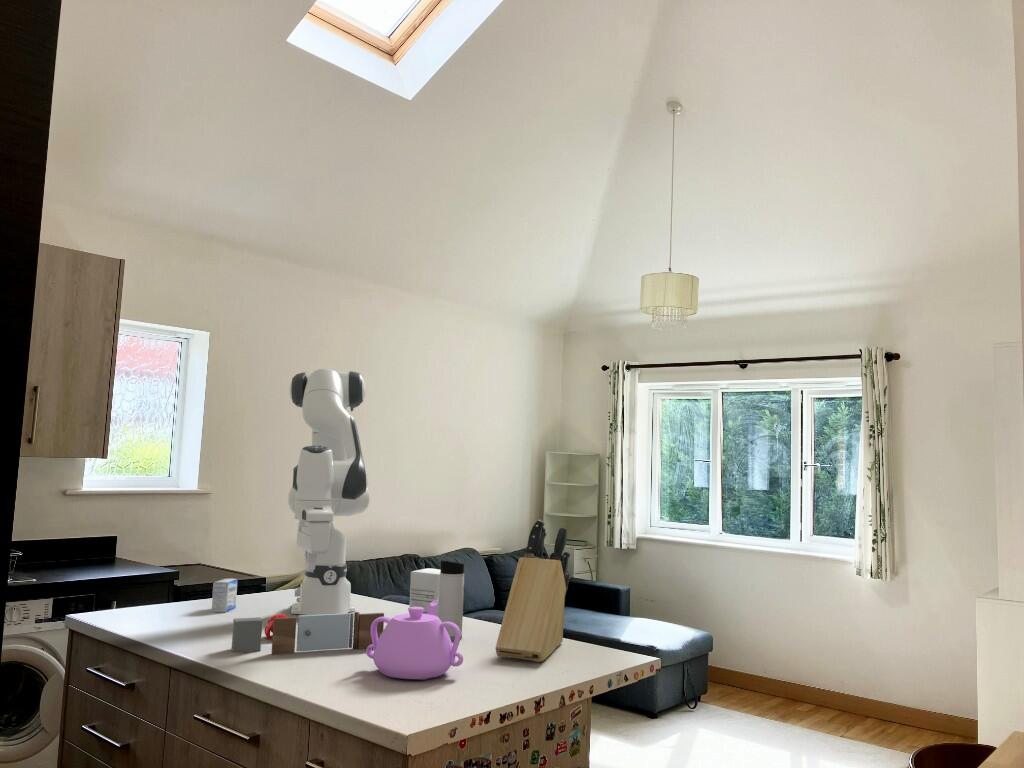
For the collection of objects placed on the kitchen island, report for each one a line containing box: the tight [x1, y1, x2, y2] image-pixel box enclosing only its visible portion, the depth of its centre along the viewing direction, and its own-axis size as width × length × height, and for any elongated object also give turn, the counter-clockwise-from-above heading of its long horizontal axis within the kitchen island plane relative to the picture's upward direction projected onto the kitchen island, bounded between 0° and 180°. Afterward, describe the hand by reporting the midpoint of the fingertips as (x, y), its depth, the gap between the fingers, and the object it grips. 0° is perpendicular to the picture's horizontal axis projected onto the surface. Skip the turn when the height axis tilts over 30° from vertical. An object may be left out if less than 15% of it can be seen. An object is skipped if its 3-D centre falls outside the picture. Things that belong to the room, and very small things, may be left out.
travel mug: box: [438, 559, 465, 642], centre depth 207 cm, size 6×7×20 cm
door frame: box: [271, 611, 385, 656], centre depth 189 cm, size 1×26×8 cm, turn 115°
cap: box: [264, 613, 288, 640], centre depth 201 cm, size 8×6×6 cm
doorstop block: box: [231, 616, 263, 654], centre depth 187 cm, size 4×6×7 cm, turn 115°
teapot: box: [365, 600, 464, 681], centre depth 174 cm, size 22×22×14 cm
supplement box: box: [408, 567, 441, 617], centre depth 223 cm, size 9×9×15 cm
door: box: [295, 612, 354, 653], centre depth 189 cm, size 13×2×8 cm, turn 115°
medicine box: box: [211, 578, 238, 614], centre depth 235 cm, size 8×4×9 cm, turn 179°
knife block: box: [495, 519, 571, 663], centre depth 200 cm, size 11×35×31 cm, turn 165°
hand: (310, 569), depth 194 cm, fingers closed
